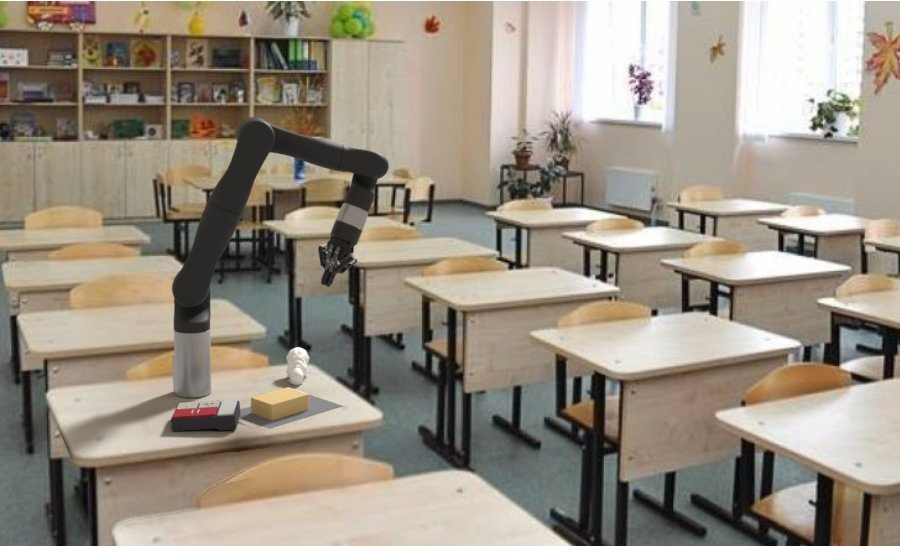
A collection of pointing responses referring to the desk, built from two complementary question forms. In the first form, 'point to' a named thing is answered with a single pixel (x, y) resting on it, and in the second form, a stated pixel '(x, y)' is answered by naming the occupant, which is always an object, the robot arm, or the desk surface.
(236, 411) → the red and grey box
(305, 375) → the white figurine
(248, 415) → the charcoal mat
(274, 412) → the ochre block
